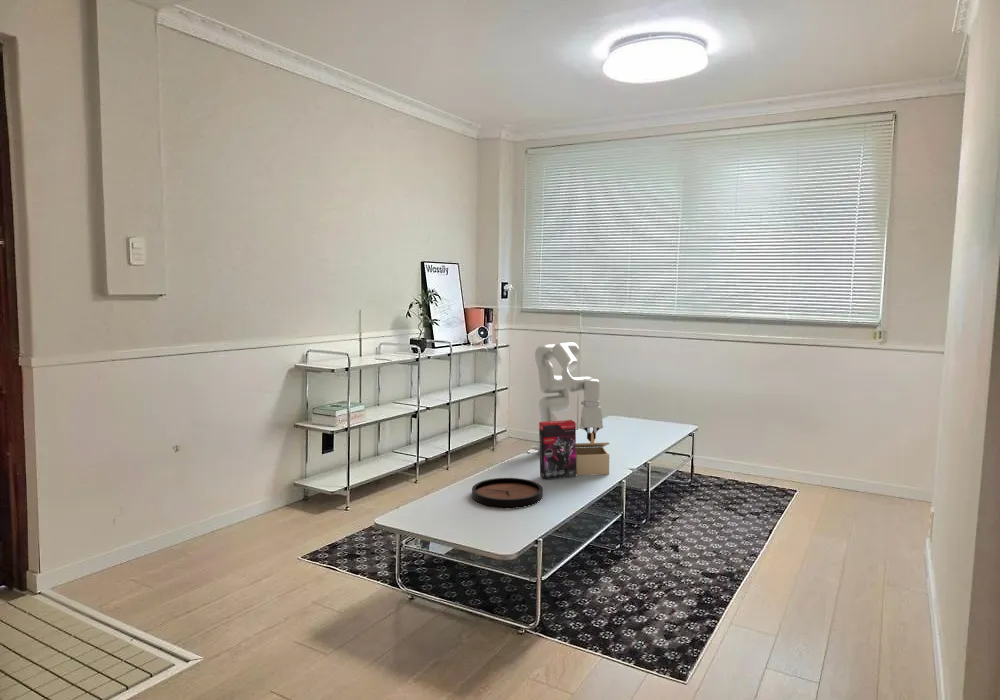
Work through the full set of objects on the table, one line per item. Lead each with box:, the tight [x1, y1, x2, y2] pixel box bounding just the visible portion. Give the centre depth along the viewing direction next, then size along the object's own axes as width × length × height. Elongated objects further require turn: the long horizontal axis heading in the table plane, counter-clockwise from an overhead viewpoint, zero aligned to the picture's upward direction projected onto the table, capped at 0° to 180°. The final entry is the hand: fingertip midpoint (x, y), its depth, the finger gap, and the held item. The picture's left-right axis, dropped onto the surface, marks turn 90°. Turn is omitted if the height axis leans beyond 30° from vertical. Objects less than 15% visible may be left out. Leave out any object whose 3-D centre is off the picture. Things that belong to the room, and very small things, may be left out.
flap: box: [576, 432, 610, 448], centre depth 339 cm, size 16×14×6 cm
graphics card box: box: [538, 419, 577, 481], centre depth 327 cm, size 17×7×27 cm, turn 105°
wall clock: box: [471, 477, 544, 509], centre depth 300 cm, size 31×4×31 cm
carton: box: [576, 447, 610, 476], centre depth 338 cm, size 16×14×10 cm
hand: (591, 440), depth 335 cm, fingers closed
